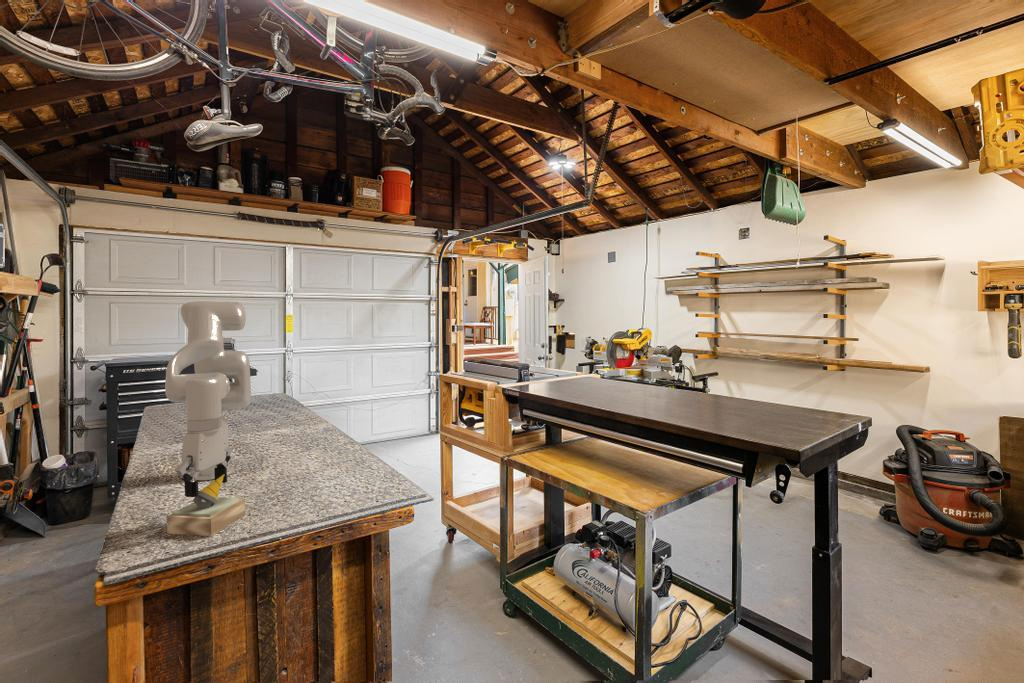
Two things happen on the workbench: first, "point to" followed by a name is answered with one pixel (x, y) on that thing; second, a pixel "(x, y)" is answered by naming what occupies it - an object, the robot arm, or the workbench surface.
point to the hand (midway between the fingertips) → (206, 489)
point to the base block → (206, 517)
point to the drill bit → (208, 494)
